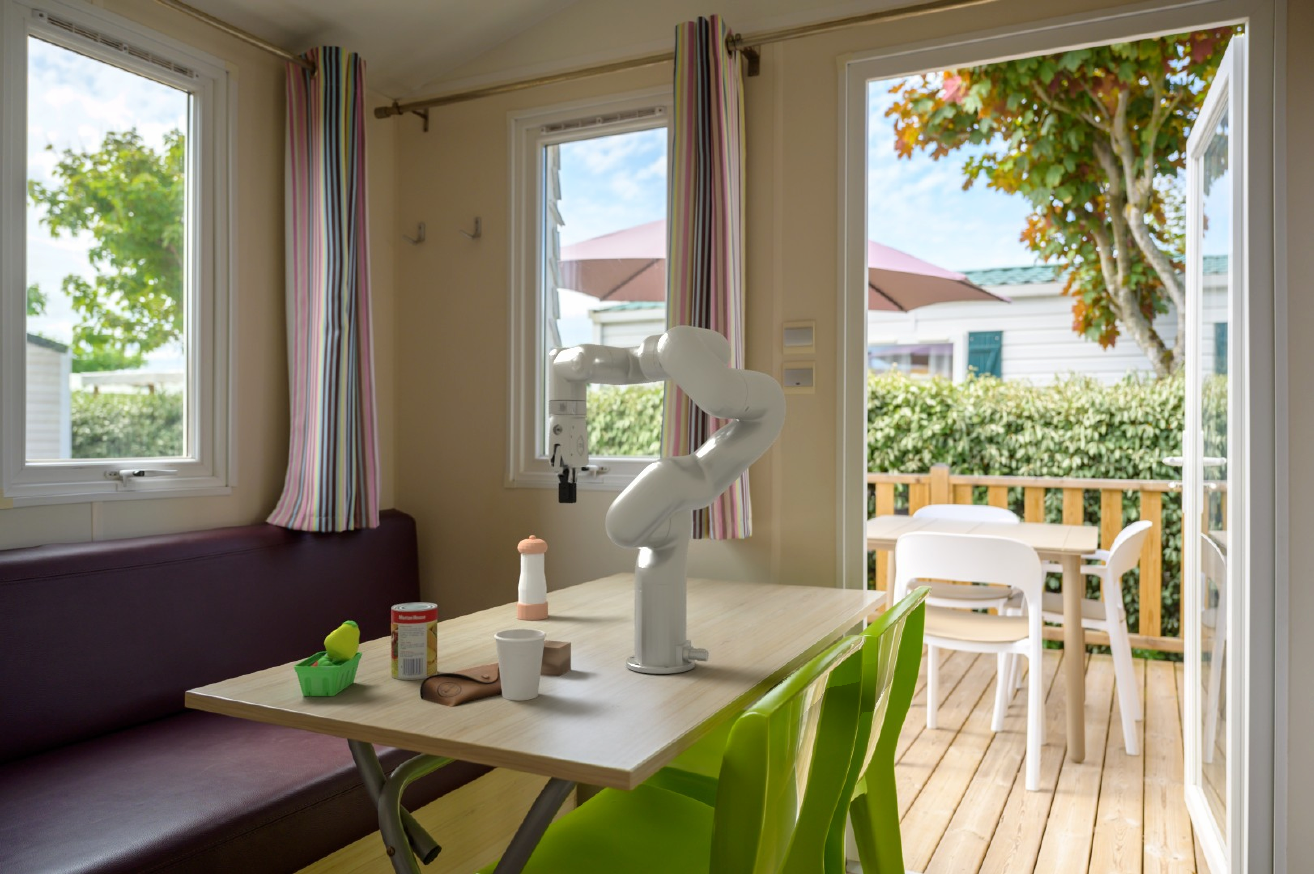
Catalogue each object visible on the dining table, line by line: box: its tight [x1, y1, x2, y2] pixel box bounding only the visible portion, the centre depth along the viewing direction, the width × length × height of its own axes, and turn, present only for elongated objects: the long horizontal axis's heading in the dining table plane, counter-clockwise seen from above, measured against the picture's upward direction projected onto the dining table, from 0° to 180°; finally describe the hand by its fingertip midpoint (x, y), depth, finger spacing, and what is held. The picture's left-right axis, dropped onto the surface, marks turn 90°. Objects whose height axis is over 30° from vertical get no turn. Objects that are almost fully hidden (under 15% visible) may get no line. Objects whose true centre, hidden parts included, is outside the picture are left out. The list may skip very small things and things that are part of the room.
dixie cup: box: [493, 628, 547, 701], centre depth 149 cm, size 8×8×10 cm
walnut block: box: [540, 639, 572, 677], centre depth 165 cm, size 5×5×5 cm
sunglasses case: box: [419, 662, 502, 708], centre depth 152 cm, size 18×7×7 cm
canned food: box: [390, 602, 438, 681], centre depth 163 cm, size 8×8×12 cm
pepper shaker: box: [516, 535, 549, 621], centre depth 217 cm, size 7×7×19 cm
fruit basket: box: [293, 620, 363, 697], centre depth 153 cm, size 11×9×11 cm
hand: (567, 502), depth 183 cm, fingers closed
